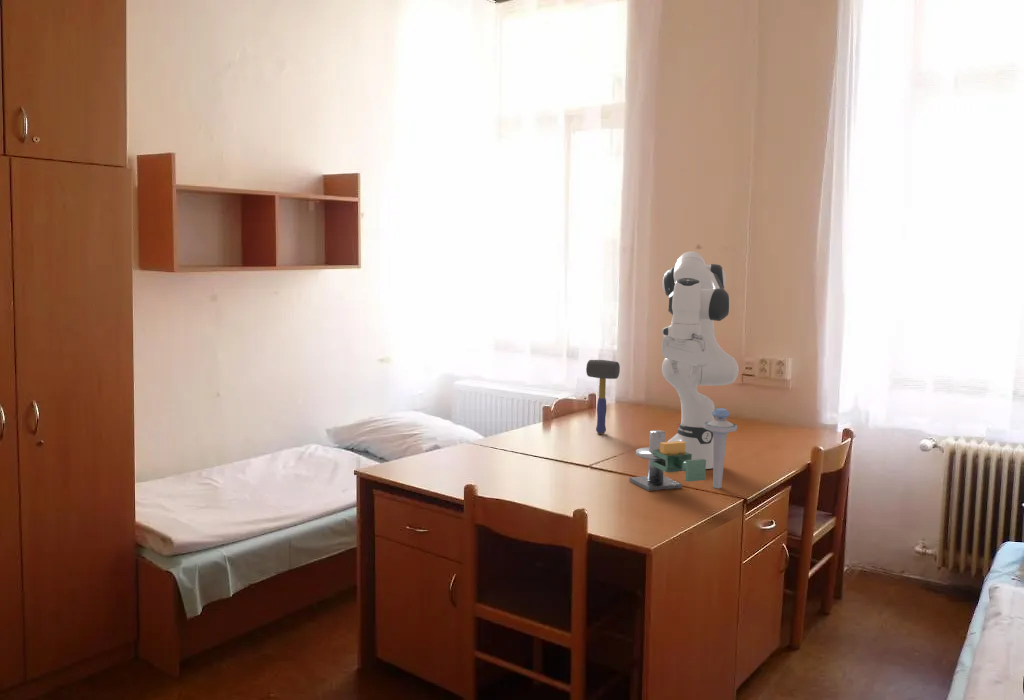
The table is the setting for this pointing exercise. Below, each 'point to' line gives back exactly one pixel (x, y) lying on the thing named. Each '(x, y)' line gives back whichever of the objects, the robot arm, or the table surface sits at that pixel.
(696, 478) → the bracket post
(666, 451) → the yellow t-shaped block
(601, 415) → the rubber mallet
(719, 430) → the novelty light stick
